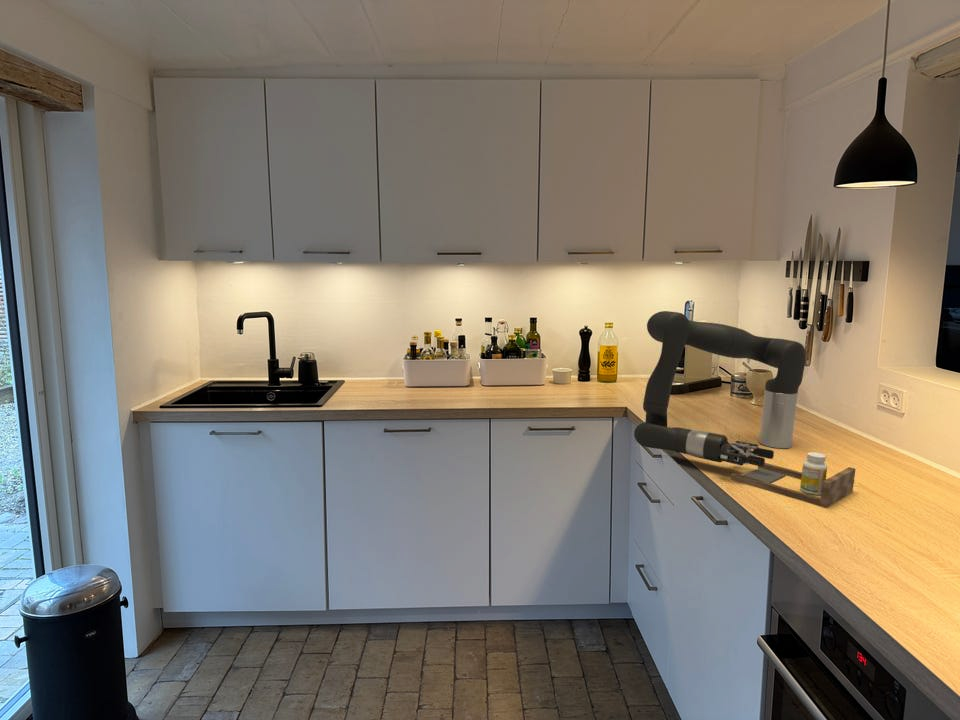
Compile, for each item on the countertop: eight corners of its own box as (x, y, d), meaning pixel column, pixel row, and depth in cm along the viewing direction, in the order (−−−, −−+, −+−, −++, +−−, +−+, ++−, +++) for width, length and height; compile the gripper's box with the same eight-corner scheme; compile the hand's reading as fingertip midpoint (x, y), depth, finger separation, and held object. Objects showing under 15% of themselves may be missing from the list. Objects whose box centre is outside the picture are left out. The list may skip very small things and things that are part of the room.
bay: (760, 466, 174) (762, 445, 173) (852, 491, 156) (855, 468, 155) (730, 479, 163) (732, 457, 162) (826, 507, 145) (829, 483, 144)
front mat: (759, 469, 171) (759, 467, 171) (785, 476, 166) (785, 474, 166) (738, 478, 163) (739, 476, 163) (765, 485, 158) (765, 484, 158)
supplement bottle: (808, 495, 153) (812, 458, 151) (795, 487, 158) (799, 451, 156) (828, 495, 153) (833, 458, 152) (815, 487, 158) (819, 451, 157)
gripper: (698, 437, 165) (763, 451, 155) (716, 427, 176) (777, 439, 166) (696, 464, 166) (759, 479, 156) (713, 452, 177) (774, 466, 167)
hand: (769, 458), depth 161 cm, fingers open, 8 cm apart
